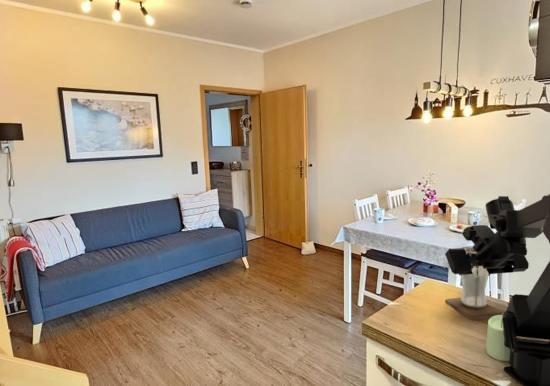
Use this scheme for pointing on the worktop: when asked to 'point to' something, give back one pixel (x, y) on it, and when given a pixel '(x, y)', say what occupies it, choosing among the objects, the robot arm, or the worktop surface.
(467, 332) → the worktop surface
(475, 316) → the walnut board
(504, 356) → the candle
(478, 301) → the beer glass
